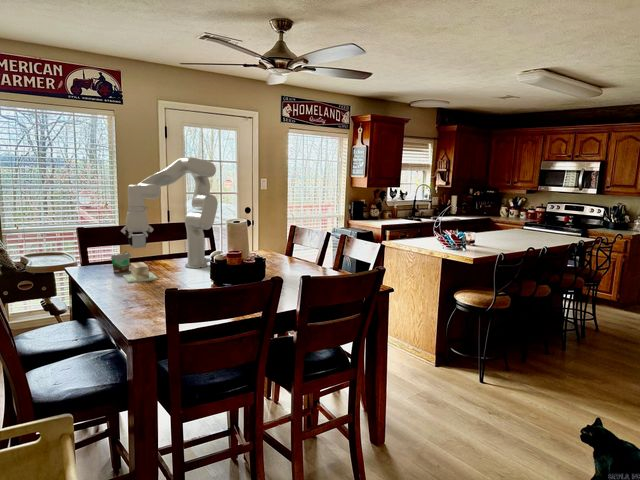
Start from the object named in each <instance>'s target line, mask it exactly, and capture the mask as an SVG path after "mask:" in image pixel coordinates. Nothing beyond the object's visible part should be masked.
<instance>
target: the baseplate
mask: <svg viewBox="0 0 640 480" xmlns="http://www.w3.org/2000/svg"><path fill="white" fill-rule="evenodd" d="M122 278H123V279H124V280H125V281H126V283H128V284H131V283H137V282H146V281H155V280H158V277H157V275H155V274H154V273H153V272H151V271H149V278H145V279H135V278H134V277H133V276H132V275H131V273H130V274H123V275H122Z"/></svg>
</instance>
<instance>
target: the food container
mask: <svg viewBox="0 0 640 480" xmlns="http://www.w3.org/2000/svg"><path fill="white" fill-rule="evenodd" d="M130 258H131V253H130V251H127V250H126V251H124V252H123V253H118V254H112V255H110V260H111V263H112V270H113V274H122V273H128V272H130Z"/></svg>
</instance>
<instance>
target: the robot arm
mask: <svg viewBox="0 0 640 480" xmlns="http://www.w3.org/2000/svg"><path fill="white" fill-rule="evenodd" d="M216 173H217V167H216V165H215V164H214V163H213V162H211V161H208V160H204V159H201V158H196V157H192V156H191V157H189V156H188V157H186V156H185V157H180V158H178V159H176V160H175V161H174V162H172V163H171V164H170V165H168V166H167V167H165V168H164V169H163V170H161V171H158V172H155V173H154V174H152V175H149V176H147V177H146V178H145V179H143V180H142V181H141V182H139V183H138V184H129V185H128V186H127V206H128V211H127V212H126V217H125V226H124V227H123V228H122V229H121V230H120V232H121V233H122V234H124V235H125V236H126V237H127V238H128V245H129V246H130V247H131V246H132V237H131V236H132V235H133V233H142V234H143V235H145V237H146V244H148V237H149V236H150V234H151V233H152V232H153V231H154V230H155V229H154V228H153V227H152V226H151V225H150V224H149V219H148V213H147V210H149V208H148V206H146V205H145V199H147V200H156V199H158V198H159V197H160V196H161V193H162V191H161V187H165V186H169V185H173V184H175V183H176V182H177V181H179V180H180V179H182V178H183V176H185V175H186V174H191V176H192V178H193V179H194V183H195V185H194V190H193V193H192V194H193V195H192V197H191V207H192V209H195V210H197V211H190V212H188V213H187V214H186V215H185V217H184V225H185V228H186V229H185V230H186V242H187V243H186V244H187V248H186V251H187V263H185V264H184V267H185V268H189V269H201V268H200V267H202V268H205V267H208V263H211V262H210V259H211V258H207V257H205V233H204V230H206V231H207V230H210V229H211V228H212V227H213V225H214V222H215V219H216V214H217V210H218V205H219V203H218V199H217V197H216V196H215V195H213V194H210V192H211V181H210V180H209V178H212V177H214V176H215V175H216ZM126 231H127V232H126Z"/></svg>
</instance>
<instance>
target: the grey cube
mask: <svg viewBox="0 0 640 480" xmlns="http://www.w3.org/2000/svg"><path fill="white" fill-rule="evenodd" d="M131 237H132V246H131V245H130V247H131V248H133V249H141V248H144V249H145V248H146V247H147V243H146V237H145V235H144V234H143V233H139V234H137V233H136V234H132V236H131Z"/></svg>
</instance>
